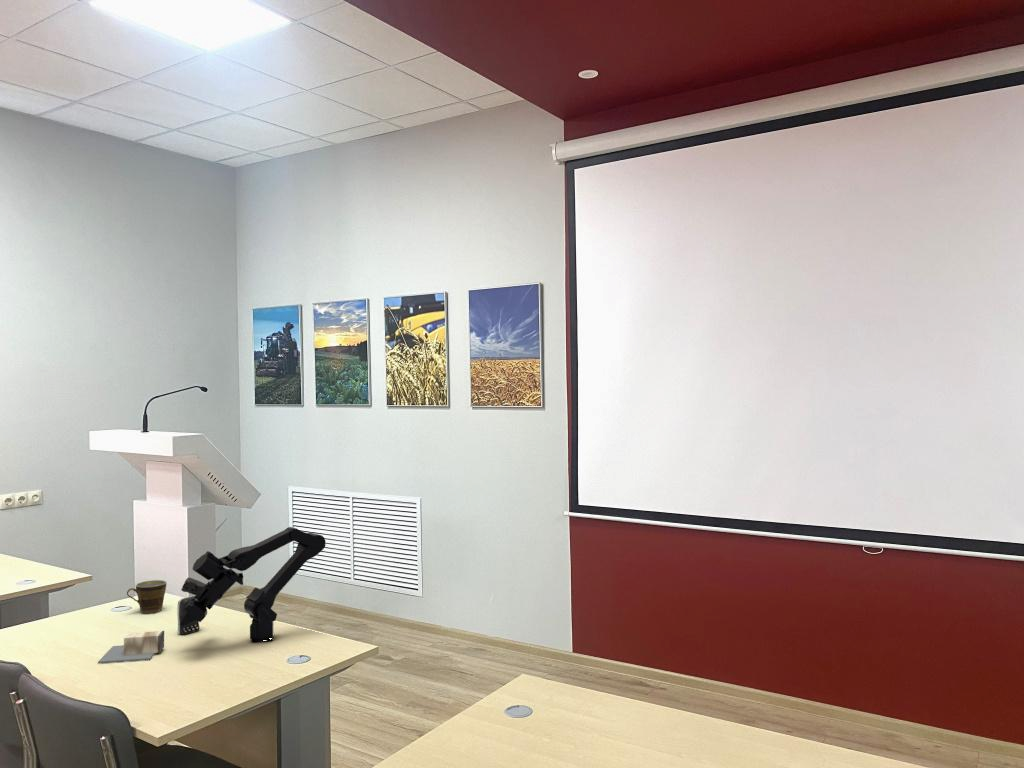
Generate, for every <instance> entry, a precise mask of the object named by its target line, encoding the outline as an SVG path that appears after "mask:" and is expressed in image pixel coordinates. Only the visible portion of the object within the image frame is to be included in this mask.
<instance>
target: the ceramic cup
mask: <svg viewBox="0 0 1024 768" xmlns="http://www.w3.org/2000/svg"><path fill="white" fill-rule="evenodd" d="M166 589H167V581H165V580H159V579H156V580H155V579H153V580H146V581H142V582H138V583H136V584H135V588H132V587H131V588H129V589H128V590H127V591H126V595H127V597H129V599H132V600H133V601H134V602H137V604H138V605H139V610H140V611H139V612H140V614H142V615H152V614H153V615H154V614H157V613H160V612H162V610H163V606H164V599H165V594H166ZM131 591H133V592H134V593H136V594H137V599H136V598H135V597H133V596H131V595H129V592H131Z"/></svg>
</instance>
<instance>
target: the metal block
mask: <svg viewBox="0 0 1024 768" xmlns="http://www.w3.org/2000/svg"><path fill="white" fill-rule="evenodd" d="M123 645H124V655H132V654H146V653H155V654H158V653H161V652H162V651H163V649H164V648H165V630H155V631H154V630H153V631H151V630H150V631H138V632H128V633H127V634H126V635H125V636H124V637H123Z"/></svg>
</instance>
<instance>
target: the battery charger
mask: <svg viewBox="0 0 1024 768" xmlns="http://www.w3.org/2000/svg"><path fill="white" fill-rule="evenodd" d="M195 596H196V595H189V596H186V597H181V598H180V599H179V600H178V601H177V634H178V635H189V634H192V633H196V632H199V631H200V622H198V621H197V620H196V621H193V622H191V623H189V624H187V625H185V626H181V625H180V623H181V621H182V620H183V618H184V617H185V615H186V614H187V611H186V610H185V609H184V608H185V607H186V606H187V605H188V604H189V602H191V600H192V599H195V598H194V597H195ZM195 600H196V599H195Z"/></svg>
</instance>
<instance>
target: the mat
mask: <svg viewBox="0 0 1024 768" xmlns="http://www.w3.org/2000/svg"><path fill="white" fill-rule="evenodd" d="M154 654H155V655H156V653H146V654H132V655H124V644H123V645H112V647H110V649H108V650H107V652H105V654H104V655H103V656H102V657H101V658H100V659H99V660H98V661H97V664H98V663H102V664H110V663H109V662H117V663H125V662H124V661H131V662H140V661H139V660H145V661H149V660H148V659H151V660H152V659H153V657H154V656H155V655H154ZM153 655H154V656H153ZM152 656H153V657H152Z"/></svg>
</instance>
